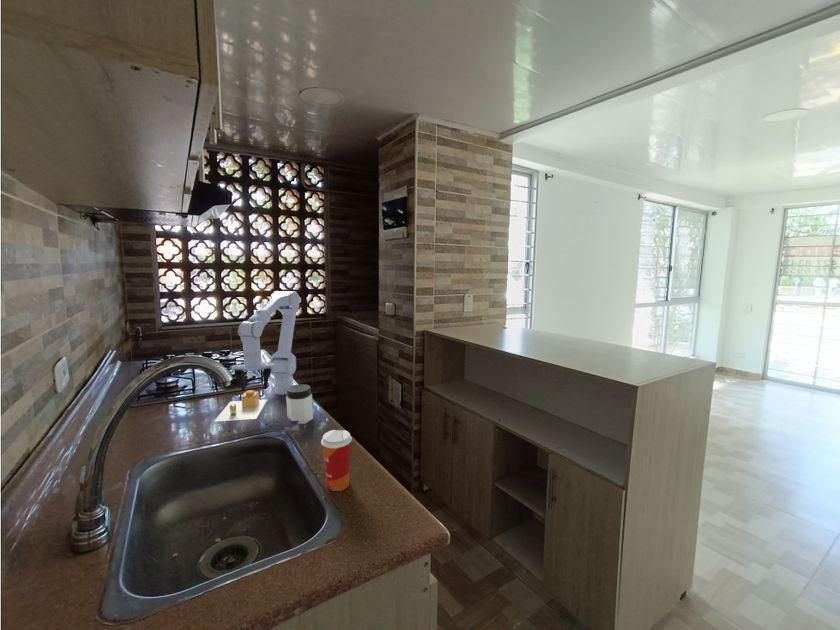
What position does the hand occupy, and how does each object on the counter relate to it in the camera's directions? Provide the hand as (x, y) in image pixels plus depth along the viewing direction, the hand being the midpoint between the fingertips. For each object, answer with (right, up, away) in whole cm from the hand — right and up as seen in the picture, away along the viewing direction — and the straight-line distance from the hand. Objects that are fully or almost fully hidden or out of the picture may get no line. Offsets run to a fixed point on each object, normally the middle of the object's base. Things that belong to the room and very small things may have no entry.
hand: (254, 388), depth 140 cm
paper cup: (+40, -17, -42) cm, 61 cm away
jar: (+18, -11, -4) cm, 22 cm away
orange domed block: (-4, -7, +5) cm, 9 cm away
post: (-6, -9, -3) cm, 11 cm away
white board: (-5, -9, +1) cm, 11 cm away
